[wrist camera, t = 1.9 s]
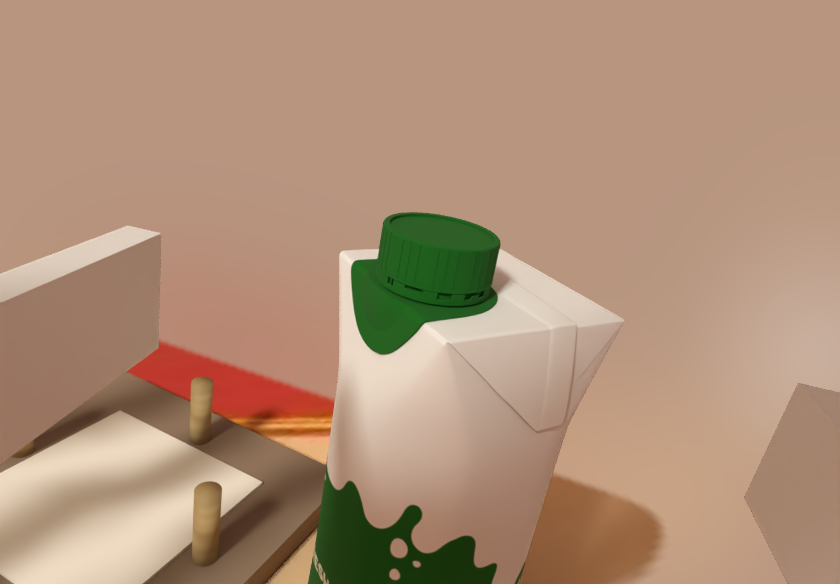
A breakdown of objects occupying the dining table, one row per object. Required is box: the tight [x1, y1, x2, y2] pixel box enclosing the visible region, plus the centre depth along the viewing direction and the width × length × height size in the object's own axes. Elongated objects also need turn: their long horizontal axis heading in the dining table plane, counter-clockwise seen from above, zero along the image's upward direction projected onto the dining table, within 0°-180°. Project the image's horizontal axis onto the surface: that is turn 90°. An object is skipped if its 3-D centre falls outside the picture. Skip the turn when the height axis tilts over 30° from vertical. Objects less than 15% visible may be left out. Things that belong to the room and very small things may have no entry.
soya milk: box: [308, 212, 625, 584], centre depth 25 cm, size 9×9×20 cm
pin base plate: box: [0, 372, 326, 584], centre depth 31 cm, size 18×18×6 cm
